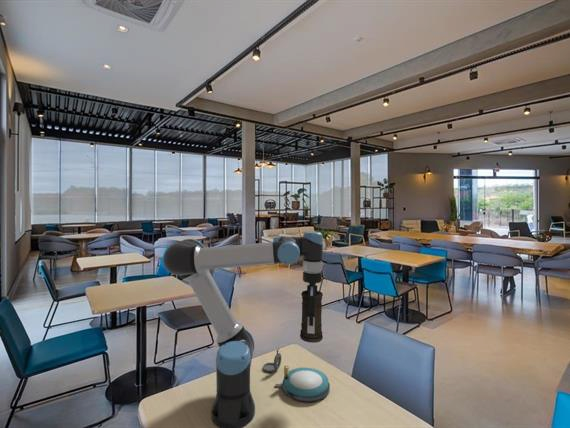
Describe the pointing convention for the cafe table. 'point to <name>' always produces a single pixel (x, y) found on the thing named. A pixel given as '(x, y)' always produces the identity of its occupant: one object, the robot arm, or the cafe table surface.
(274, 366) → the pocket watch
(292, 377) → the turntable
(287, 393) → the turntable base
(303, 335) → the container
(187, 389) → the cafe table surface
